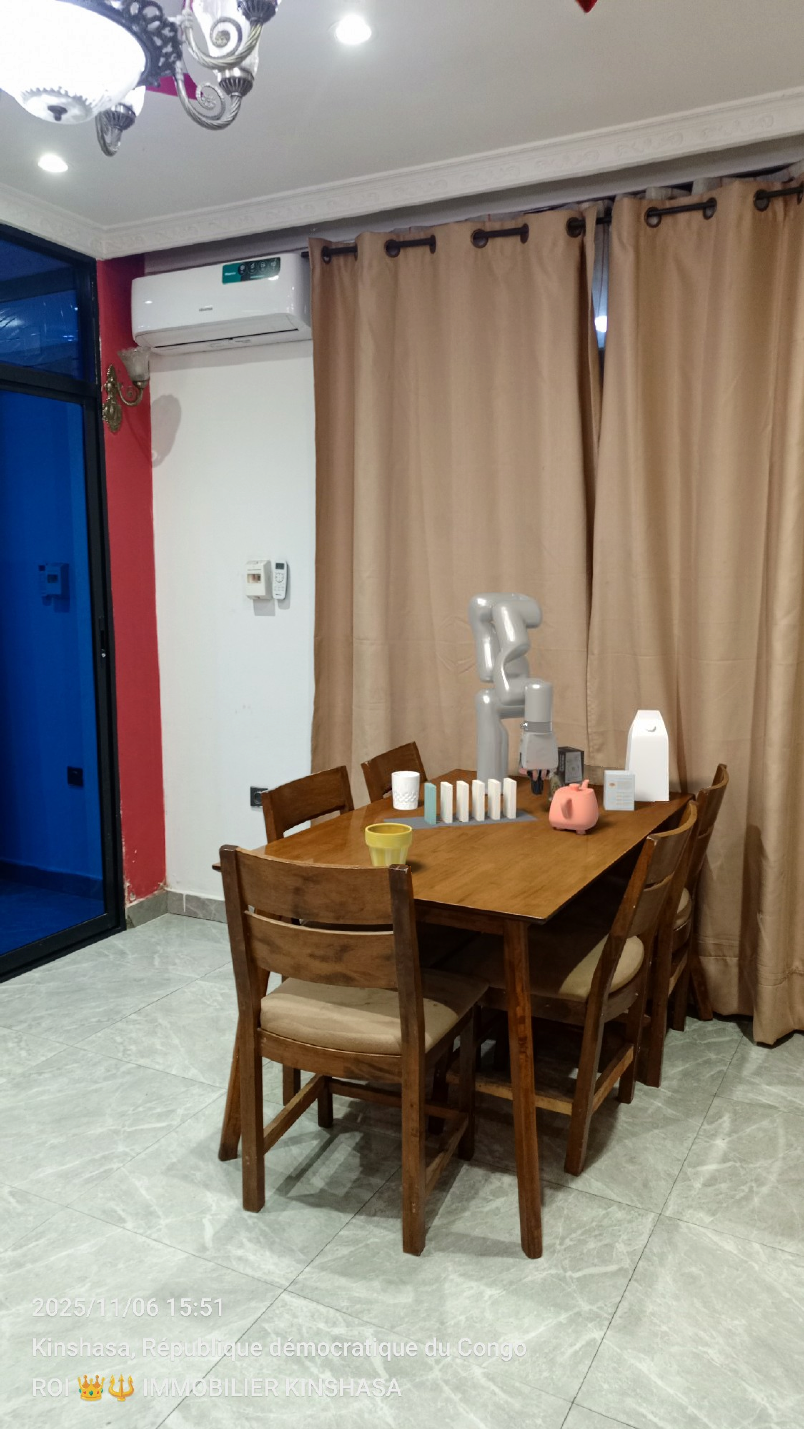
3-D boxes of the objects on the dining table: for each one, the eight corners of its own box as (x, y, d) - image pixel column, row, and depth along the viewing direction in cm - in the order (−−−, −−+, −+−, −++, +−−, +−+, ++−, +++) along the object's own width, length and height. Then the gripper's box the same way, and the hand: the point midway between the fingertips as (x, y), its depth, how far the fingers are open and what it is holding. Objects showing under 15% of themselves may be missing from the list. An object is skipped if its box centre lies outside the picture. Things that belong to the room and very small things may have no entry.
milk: (663, 793, 291) (667, 708, 287) (668, 801, 280) (672, 713, 276) (623, 791, 293) (626, 707, 289) (626, 800, 281) (629, 712, 278)
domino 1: (424, 819, 256) (424, 783, 255) (430, 819, 257) (430, 782, 255) (430, 824, 251) (430, 786, 250) (436, 823, 252) (436, 786, 250)
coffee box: (583, 806, 274) (585, 750, 272) (564, 808, 271) (565, 752, 269) (566, 799, 282) (568, 745, 280) (547, 801, 280) (549, 746, 278)
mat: (382, 821, 257) (382, 819, 257) (521, 811, 268) (521, 809, 268) (394, 832, 245) (394, 830, 245) (538, 821, 256) (538, 820, 256)
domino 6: (503, 814, 262) (503, 778, 261) (508, 813, 263) (509, 778, 261) (510, 818, 258) (510, 782, 256) (515, 818, 258) (516, 781, 257)
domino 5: (487, 815, 261) (488, 779, 260) (493, 814, 262) (493, 778, 260) (494, 819, 256) (495, 783, 255) (500, 819, 257) (500, 782, 255)
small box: (631, 806, 274) (632, 770, 272) (634, 811, 268) (635, 774, 267) (602, 805, 275) (604, 769, 273) (605, 810, 269) (606, 773, 268)
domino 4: (472, 816, 260) (472, 780, 259) (477, 816, 260) (478, 779, 259) (478, 820, 255) (479, 784, 254) (484, 820, 256) (484, 783, 254)
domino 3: (456, 817, 259) (456, 781, 257) (462, 817, 259) (462, 780, 258) (462, 822, 254) (463, 785, 253) (468, 821, 254) (468, 784, 253)
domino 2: (440, 818, 257) (440, 782, 256) (446, 818, 258) (446, 781, 256) (446, 823, 253) (446, 786, 251) (452, 822, 253) (452, 785, 252)
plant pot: (388, 861, 220) (388, 819, 219) (421, 870, 213) (422, 828, 212) (355, 871, 213) (355, 828, 212) (389, 881, 206) (388, 836, 204)
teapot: (585, 840, 238) (586, 793, 236) (539, 835, 243) (540, 788, 242) (607, 823, 255) (609, 778, 254) (564, 817, 261) (565, 774, 259)
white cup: (385, 808, 271) (385, 773, 270) (406, 804, 276) (406, 769, 275) (404, 813, 265) (404, 777, 264) (425, 809, 271) (425, 774, 269)
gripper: (518, 730, 253) (517, 798, 256) (569, 728, 258) (568, 795, 260) (507, 726, 261) (506, 792, 263) (557, 724, 265) (556, 789, 267)
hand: (537, 793), depth 262 cm, fingers closed
